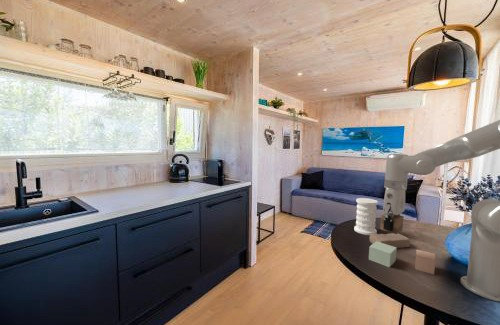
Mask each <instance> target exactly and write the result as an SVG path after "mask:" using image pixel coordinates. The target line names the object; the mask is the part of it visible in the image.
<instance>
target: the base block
mask: <svg viewBox="0 0 500 325" xmlns="http://www.w3.org/2000/svg"><path fill="white" fill-rule="evenodd" d="M397 249H398V248H396V247H393V246H390V245H387V244H384V243H380V242H377V241H376V242H375V243H373V244H372V243H371V245H370V246H369V249H368V260H369V261H371V262H375V263H377V264H380V265H382V266H385V267H387V268H391V267H392V266H393V265H394V263H395V262H396V261H397Z"/></svg>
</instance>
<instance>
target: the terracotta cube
mask: <svg viewBox="0 0 500 325" xmlns="http://www.w3.org/2000/svg"><path fill="white" fill-rule="evenodd" d="M415 251H416V252H415V260H414V261H415V262H414V263H415V264H414V270H417V271H420V272H424V273H427V274H430V275H435V268H436V254H435V253H433V252H429V251H425V250H420V249H416V250H415Z"/></svg>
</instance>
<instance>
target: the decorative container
mask: <svg viewBox="0 0 500 325" xmlns="http://www.w3.org/2000/svg"><path fill="white" fill-rule="evenodd" d="M355 201H356V203H357V204H356V216H355V219H356V221H355V225H354V226H353V227H354V228H353V229H354V232H356V233H358V234H361V235H364V236H370V234H378V230H377V229H376V225H377V224H376V221H377V217H376V216H377V208H378V207H377V205H379V201H378V200H376V199H373V198H367V197H358V198H356V200H355Z"/></svg>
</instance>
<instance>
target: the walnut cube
mask: <svg viewBox="0 0 500 325" xmlns="http://www.w3.org/2000/svg"><path fill="white" fill-rule="evenodd" d="M380 216H381V217H380V228H379V230H381V231H385V232H388V233H394V234H400V233H401V232H402V231H403V228H404V227H403V226H404V216H403V215H401V214H400V215H395V214H394V217H393V222H394V224H393V231H388V230H385V229H384V228H383V227H384V213H383V214H381V215H380ZM390 217H391V215H390Z"/></svg>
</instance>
